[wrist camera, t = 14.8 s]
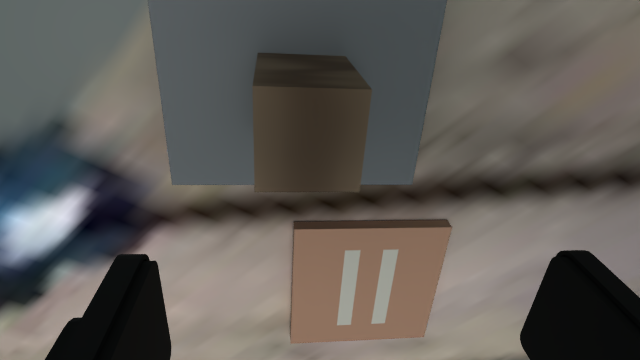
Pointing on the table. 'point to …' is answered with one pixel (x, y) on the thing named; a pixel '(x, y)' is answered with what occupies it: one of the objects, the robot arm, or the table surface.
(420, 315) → the tile
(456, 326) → the table surface
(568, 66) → the table surface
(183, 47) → the slate board
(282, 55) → the walnut block
